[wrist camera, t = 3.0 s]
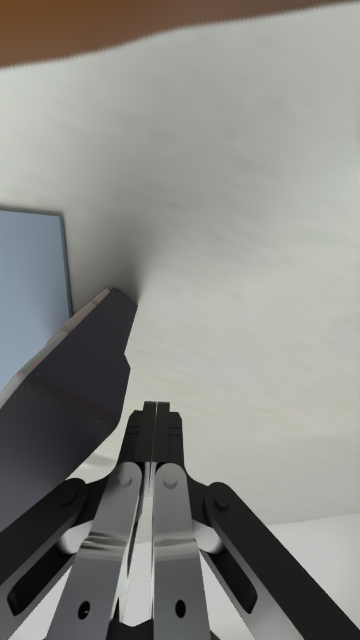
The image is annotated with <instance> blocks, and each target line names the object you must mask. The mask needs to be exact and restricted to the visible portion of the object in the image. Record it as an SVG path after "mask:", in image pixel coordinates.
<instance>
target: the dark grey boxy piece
mask: <svg viewBox="0 0 360 640" xmlns="http://www.w3.org/2000/svg"><path fill="white" fill-rule="evenodd" d="M137 307H138V305H137V304H136V303H135V302H133V301H132V300H131V299H130V298H128V297H127V296H126V295H125V294H123V293H122V292H121V291H120V290H118V289H117V288H113V289H112V290H111V291H110V290H109V289H107V288H106V289H104V290H103V291H102V292H101V293H100V294H98V295H97V296H96V297H95V298H94V299H93V300H91V301H90V302H89V303H88V304H87V305H86V306H84V307H83V308H82V309H81V310H80V311H78V312H77V313H76V314H75V315H74V316H73V317H71V318H70V319H69V320H67V321H66V322H65V323H64V324H63V326H62V327H61V328H60V329H59V330H58V332H57V333H56V334H55V335H54V336H53V337H52V338H51V339H49V340H48V341H47V343H46V346H45V347H44V348H43V349H41V350H40V351H39V352H38V353H37V354H36V355H35V356H34V357H33V358H32V359H30V360H29V361H28V362H27V363H26V364H25V365H24V366H23V367H22V368H20V369H19V371H18V372H17V373H16V374H15V375H14V376H13V377H12V379H11V380H10V381H9V382H8V384H7V385H6V386H5V387H4V389H3V390H2V391H1V393H0V532H1V531H3V530H4V529H5V528H6V527H8V526H9V525H10V524H11V523H12V522H14V521H15V520H16V519H17V518H19V517H20V516H21V515H22V514H24V513H25V512H26V511H27V510H28V509H30V508H31V507H32V506H33V505H35V504H36V503H37V502H38V501H39V500H41V499H42V498H43V497H44V496H46V495H47V494H48V493H49V492H51V491H52V490H53V489H54V488H55V487H57V486H58V485H59V484H61V483H62V482H64V481H65V480H66V479H67V478H68V477H69V476H70V475H71V474H72V473H73V472H74V471H75V470H76V469H77V468H78V467H79V466H80V465H81V464H82V463H83V462H84V461H85V460H86V459H87V458H88V457H89V456H90V455H91V454H92V453H93V451H94V450H95V449H96V448H97V447H98V446H99V445H100V444H101V443H102V442H103V441H104V440H105V439H106V438H107V437H108V436H109V435H110V434H111V433H112V432H113V431H114V430H115V429H116V427H117V425H118V423H119V421H120V418H121V414H122V409H123V404H124V399H125V394H126V389H127V384H128V379H129V374H130V366H129V364H128V361H127V359H126V357H125V355H124V352H125V349H126V345H127V342H128V338H129V335H130V331H131V328H132V324H133V321H134V318H135V314H136V311H137Z"/></svg>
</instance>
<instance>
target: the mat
mask: <svg viewBox="0 0 360 640" xmlns="http://www.w3.org/2000/svg"><path fill="white" fill-rule="evenodd" d="M71 317H72V310H71V300H70V290H69V279H68V269H67V259H66V248H65V238H64V227H63V217H60V216H51V215H41V214H31V213H21V212H11V211H2V210H0V393H1V391H2V390H3V389H4V387H5V386H6V385H7V384H8V382H9V381H10V380H11V379H12V377H13V376H14V375H15V374H16V373H17V372H18V371H19V369H20V368H22V367H23V366H24V365H25V364H26V363H27V362H28V361H29V360H30V359H32V358H33V357H34V356H35V355H36V354H37V353H38V352H39V351H40V350H41V349H43V348H44V347H45V346H46V343H47V341H48V340H49V339H51V338H52V337H53V336H54V335H55V334H56V333H57V332H58V330H59V329H60V328H61V327H62V326H63V324H64V323H65V322H66V321H67V320H69V319H70V318H71Z"/></svg>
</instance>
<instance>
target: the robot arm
mask: <svg viewBox="0 0 360 640" xmlns="http://www.w3.org/2000/svg"><path fill="white" fill-rule="evenodd" d="M156 406H157V414H156ZM169 410H170V402H158V404H157V402H152V401H145V402H144V407H143V411H139V410H134V412H133V413H132V414H131V415H130V417H129V419H128V423H127V427H126V431H125V435H124V438H123V442H122V446H121V450H120V454H119V458H118V461H117V464H116V466H115V468H114V469H113V470H112V472H111V473H110V474H109V475H107V476H106V477H104V478H102V479H100V480H97V481H94V482H91V483H88V484H86V483H85V482H84V481H83V480H82V479H80V478H71V479H68V480H65V481H64V482H62V483H61V484H59V485H58V486H57V487H55V488H54V489H53V490H52V491H51V492H49V493H48V494H47V495H46V496H44V497H43V498H42V499H41V500H39V501H38V502H37V503H36V504H35V505H33V506H32V507H31V508H30V509H28V510H27V511H26V512H25V513H24V514H22V515H21V516H20V517H19V518H17V519H16V520H15V521H14V522H12V523H11V524H10V525H9V526H8V527H6V528H5V529H4V530H3V531H1V532H0V640H8V639H9V638H10V637H11V636H12V634H13V633H14V632H15V631H16V630H17V628H18V627H19V626H20V625H21V624H22V623H23V621H24V620H25V619H26V618H27V617H28V616H29V615H30V613H31V612H32V611H33V610H34V609H35V607H36V606H37V605H38V604H39V603H40V602H41V600H42V599H43V598H44V597H45V596H46V595H47V593H48V592H49V591H50V590H51V589H52V588H53V587H54V585H55V584H56V583H57V582H58V581H59V580H60V578H61V577H62V576H63V575H64V574H65V573H66V571H67V570H68V569H69V568H70V567H71V566H72V568H71V571H70V573H69V577H68V579H67V581H66V584H65V587H64V590H63V593H62V595H61V598H60V600H59V603H58V606H57V609H56V611H55V614H54V617H53V619H52V622H51V625H50V627H49V630H48V633H47V636H46V637H45V638H44V639H43V640H220V639H219V638H218V637H217V636H216V635H215V634H214V633H213V632H212V631H211V630H210V627H209V620H208V613H207V605H206V598H205V591H204V584H203V576H202V569H201V562H200V554H199V551H200V552H201V554H202V556H203V557H204V559H205V561H206V562H207V564H208V565H209V567H210V568H211V570H212V572H213V573H214V575H215V576H216V578H217V580H218V581H219V583H220V584H221V586H222V587H223V589H224V591H225V592H226V594H227V595H228V597H229V599H230V600H231V602H232V603H233V605H234V607H235V608H236V609H237V611H238V613H239V614H240V616H241V618H242V619H243V621H244V623H245V624H246V626H247V627H248V629H249V630H250V632H251V634H252V635H253V637H254V638H255V640H360V630H359V629H358V628H357V626H356V625H355V624H354V623H353V622H352V621H351V620H350V619H349V618H348V616H347V615H345V613H344V612H343V611H342V610H341V609H340V608H339V607H338V606H337V604H335V602H334V601H333V600H332V599H331V598H330V597H329V596H328V594H327V593H326V592H325V591H324V590H323V589H322V588H321V587H320V586H319V585H318V583H316V581H315V580H314V579H313V578H312V577H311V576H310V575H309V574H308V572H307V571H306V570H305V569H304V568H303V567H302V566H301V565H300V564H299V562H298V561H297V560H296V559H295V558H294V557H293V556H292V555H291V554H290V553H289V551H288V550H287V549H286V548H285V547H284V546H283V545H282V544H281V543H280V542H279V540H278V539H277V538H276V537H275V536H274V535H273V534H272V533H271V532H270V531H269V529H268V528H267V527H266V526H265V525H264V524H263V523H262V522H261V521H260V520H259V518H258V517H257V516H256V515H255V514H254V513H253V512H252V511H251V510H250V508H249V507H248V506H247V505H246V504H245V503H244V502H243V501H242V500H241V499H240V497H239V496H238V495H237V494H236V493H235V492H234V491H233V490H232V489H231V488H230V487H229V486H228V485H226V484H224V483H222V482H214V483H212V484H210V485H209V486H206V485H204V484H201V483H199V482H197V481H195V480H193V479H192V478H191V477H190V476H189V475H188V473H187V472H186V469H185V466H184V452H183V432H182V419H181V417H180V415H179V413H178V412H169ZM150 474H151V482H150ZM149 484H150V497H153V512H152V546H151V590H150V620H147V621H145V622H143V623H141V624H139V625H137V626H134V627H130V626H128V625H125V624H124V623H123V618H124V612H125V606H126V599H127V591H128V584H129V577H130V572H131V566H132V561H133V555H134V550H135V544H136V539H137V533H138V528H139V522H140V516H141V513H142V506H143V498H144V497H148V494H149ZM198 548H199V549H198ZM72 564H73V565H72Z"/></svg>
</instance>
